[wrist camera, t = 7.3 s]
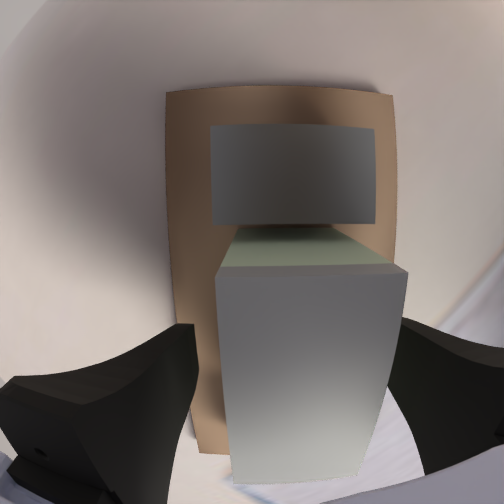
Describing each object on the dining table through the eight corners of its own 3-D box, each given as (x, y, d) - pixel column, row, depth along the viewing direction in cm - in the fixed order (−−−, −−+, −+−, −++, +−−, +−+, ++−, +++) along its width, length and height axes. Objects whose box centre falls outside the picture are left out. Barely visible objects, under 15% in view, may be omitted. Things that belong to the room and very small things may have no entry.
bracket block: (333, 227, 12) (408, 272, 6) (323, 368, 14) (357, 475, 7) (238, 228, 12) (214, 277, 6) (243, 371, 14) (233, 484, 7)
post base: (384, 100, 12) (430, 72, 8) (353, 437, 16) (369, 486, 12) (172, 98, 12) (136, 64, 8) (201, 442, 16) (190, 494, 12)
